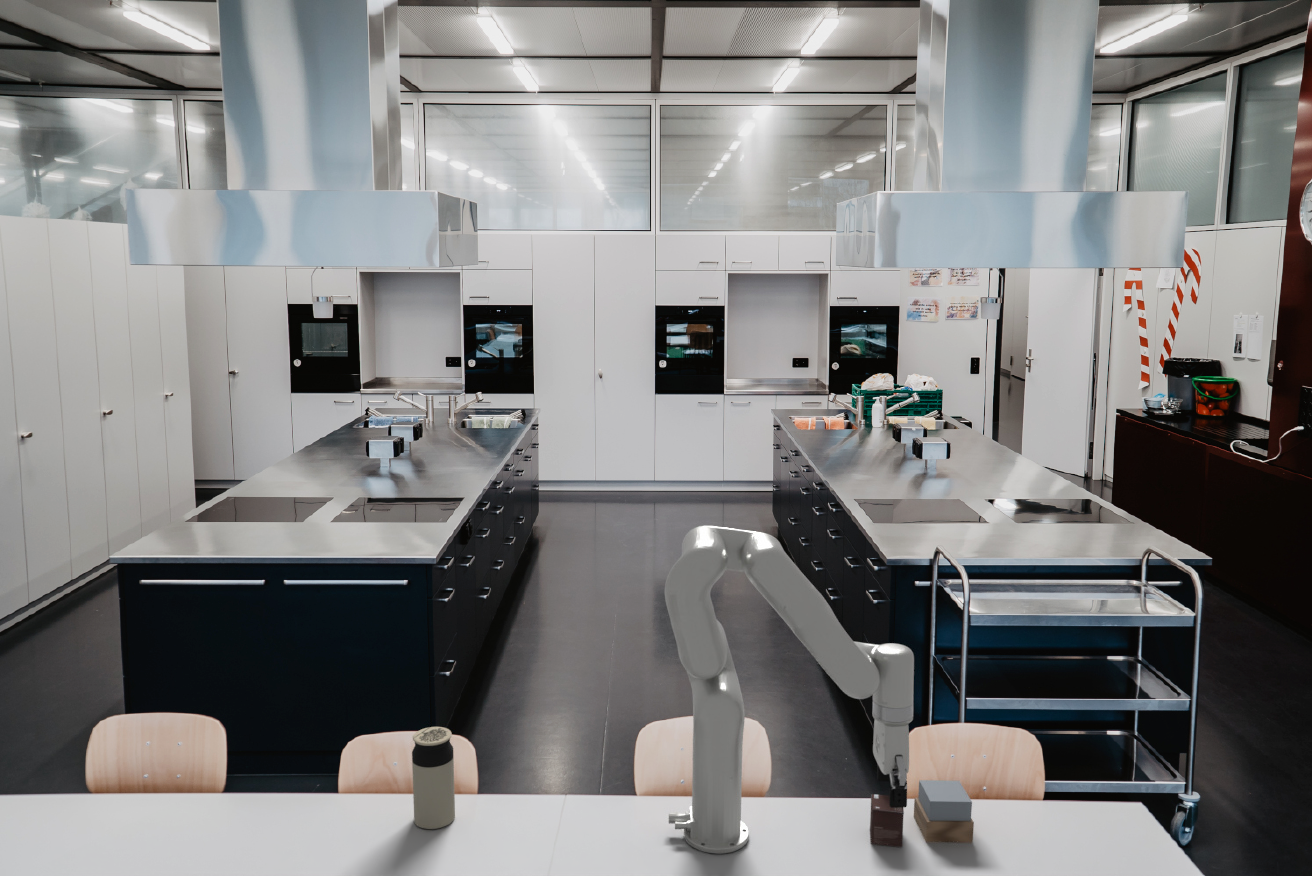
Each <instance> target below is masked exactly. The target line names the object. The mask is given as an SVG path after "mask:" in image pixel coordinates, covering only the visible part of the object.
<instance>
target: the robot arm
mask: <svg viewBox="0 0 1312 876" xmlns="http://www.w3.org/2000/svg"><path fill="white" fill-rule="evenodd" d="M726 571H733V572H742V573H744V574H745V576H746V578H747V579H748V580H749V582H750V583H751V584H752V586H754V588H755V589H756V590H757V591H758V593H760V595H761V596H762V597H763V598H764V599H765V600H766V602H767V603H768V604H769V605H770V606H771V607H772V609H774V611H775V612H776V613H777V614H778V615H779V617H780V619H782V620H783V621H784V623H785V624H786V625H787V626H788V627H789V629H790V630H791V631H792V632H793V634H794V635H795V637H796V638H797V640H799V641H800V642H801V643H802V645H803V646H804V647H805V649H807V651H809V653H810V654H811V656H812V657H814V659H815V661H816V662H817V663H818V664H819V665H820V667H821V668H822V669H823V670H824V671H825V673H826V674H827V675H828V676H829V677H830V679H831V680H832V681H833V682H834V683H835V684H836V685H837V687H838V688H839V689H840V690H841V691H842V692H843V693H844V694H845V695H847V696H848V697H850V698H852V699H855V700H856V699H857V700H864V699H868V698H871V696H872V717H873V719H874V723H873V738H872V739H873V741H872V743H873V744H872V754H873V756H874V759H875V761H876V763H877V770H876V771H877V774H876V775H877V780H878V782H890V786H888V787H889V789H888V791H889V792H888V793H889V795H888V796H889V805H890V807H891V808H900V807H903V808H906V807H907V806H908V781H907V778H908V775H907V774H908V773H909V770H910V737H909V736H910V733H909V724H910V723H911V722H912V721H913V720H914V684H915V683H914V681H915V680H914V676H915V671H914V670H915V655H914V652H913V651H912V649H911V648H910V647H908V646H906V645H904V644H900V643H895V642H894V643H893V642H892V643H890V642H889V643H881V644H875V643H867V642H860V641H854V640H853V639H852V638H851V637H850V635H849V634H848V633H847V632H846V630H845V628H844V627H843V625H842V624H841V622H839V620H838V618H837V616H836V615H835V613H834V611H833V609H832V608H831V606H830V605H829V604H830V603H828V602H827V600H826V599H825V597H824V596H823V595H822V593H821V592H820V591H819V590H818V588H817V587H815V586H814V585H813V583H812V582H811V581H810V580H809V579H808V578H807V577H806V575H804V573H803V572H802V571H801V570H800V568H799V567H798V566H797V565H796V563H795V562H793V560H792V559H791V558H790V556H789V555H788V554H787V553H786V551H785V550H784V548H783V546H782V544H781V542H780V541H779V540H778V538H776V537H774V536H773V534H772V535H771V534H769V533H765V532H762V531H755V530H754V531H753V530H745V529H737V528H729V527H724V526H723V527H722V526H715V525H699V526H697V527H693V528H692V529H690V530H689V531H688V532H687V533H686V535H685V536H684V537H683V539H682V543H681V556H680V557H679V558H678V559H677V560H676V561H675V563H674V564H673V566H671V569H670V570H669V572H668V574H667V577H666V580H665V584H664V599H665V600H664V601H665V604H666V605H665V606H666V609H667V611H668V612H667V613H668V615H669V616H668V617H669V620H670V625H671V628H672V632H673V635H674V639H675V641H676V643H675V644H676V647H677V653H678V657H679V661H680V662H681V664H682V666H683V668H684V669H685V671H686V674H687V676H688V680H689V684H690V686H691V692H692V709H693V710H692V715H693V716H692V720H693V721H692V722H693V724H692V725H693V726H692V728H693V729H692V777H691V778H692V781H691V782H692V783H691V784H692V786H691V787H692V788H691V790H692V791H691V806H689V811H684V813H677V812H668V824H670V825H671V824H672V825H673V824H674V829H675V830H683V838H684V840H685V842H687V844H688V845H690V846H691V847H692V848H694V849H696V850H697V851H701V852H703V853H709V854H716V855H717V854H721V855H722V854H729V853H732V852H733V853H734V852H736V851H738V850H740V849H742V848H743V847H745V845H747V843H748V841H749V828H748V826H747V825H746V824H745V823H744V822H743V821H742V789H743V788H742V784H743V783H742V781H743V777H742V776H743V742H744V741H743V740H744V731H745V715H746V714H745V703H744V698H743V694H742V693H743V692H742V689H741V685H740V681H739V676H738V674H737V670H736V668H735V663H734V660H733V656H732V652H731V649H730V647H729V643H728V639H727V635H726V632H725V629H724V626H723V625H722V623H721V622H720V621H719V620H718V619H717V616H716V612H715V607H714V604H713V601H712V597H711V592H712V589H713V586H714V585H715V584H716V582H717V581H719V579H721V577H722V576H723V575H724V574H725V572H726ZM895 769H896V770H895ZM895 776H897V778H896V779H895Z"/></svg>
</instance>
